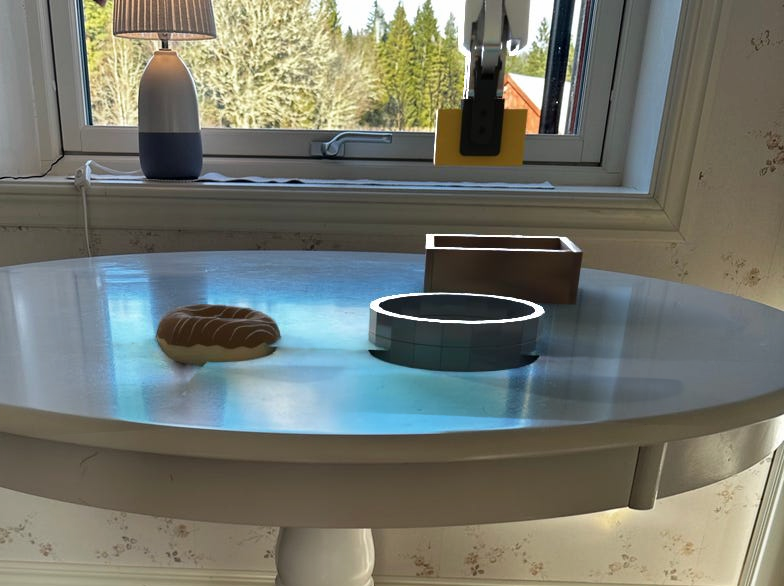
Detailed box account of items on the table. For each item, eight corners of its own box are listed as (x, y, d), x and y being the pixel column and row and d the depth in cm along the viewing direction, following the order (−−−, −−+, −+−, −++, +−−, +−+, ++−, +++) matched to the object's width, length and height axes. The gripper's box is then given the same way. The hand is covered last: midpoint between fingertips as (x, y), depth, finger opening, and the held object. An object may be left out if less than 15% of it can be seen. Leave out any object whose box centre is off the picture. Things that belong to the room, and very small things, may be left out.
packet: (517, 164, 80) (523, 109, 78) (522, 166, 76) (527, 109, 74) (433, 163, 80) (436, 109, 79) (434, 165, 77) (437, 108, 75)
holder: (558, 300, 110) (566, 237, 107) (573, 322, 98) (583, 251, 95) (422, 296, 112) (426, 234, 109) (421, 317, 100) (426, 248, 97)
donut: (152, 347, 86) (149, 301, 84) (268, 343, 88) (267, 298, 86) (162, 375, 77) (159, 323, 75) (291, 370, 79) (291, 319, 77)
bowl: (529, 346, 88) (535, 295, 86) (545, 384, 75) (553, 325, 73) (372, 341, 89) (375, 290, 87) (363, 378, 77) (365, 319, 74)
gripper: (568, -158, 62) (534, 159, 70) (540, -105, 76) (515, 152, 85) (451, -156, 62) (432, 158, 71) (445, -104, 77) (430, 151, 86)
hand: (477, 152), depth 78 cm, fingers closed on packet, 4 cm apart
